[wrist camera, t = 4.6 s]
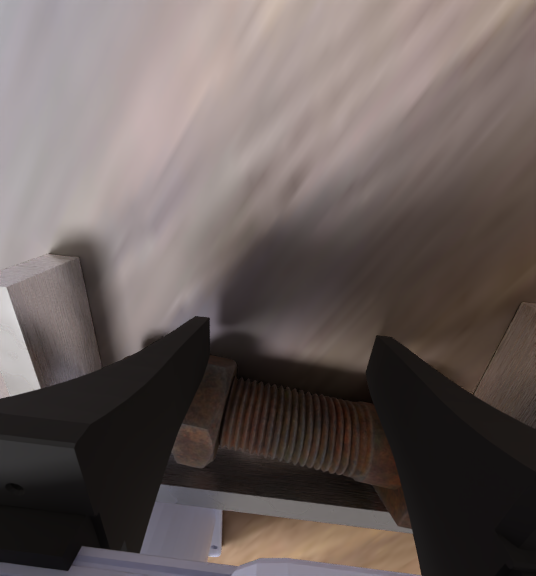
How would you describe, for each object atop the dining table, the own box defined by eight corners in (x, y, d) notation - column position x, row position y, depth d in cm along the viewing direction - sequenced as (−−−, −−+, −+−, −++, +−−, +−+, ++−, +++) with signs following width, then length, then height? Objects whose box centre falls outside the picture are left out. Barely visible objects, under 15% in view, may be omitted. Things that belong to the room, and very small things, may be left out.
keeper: (459, 471, 16) (501, 544, 13) (92, 428, 17) (47, 487, 14) (556, 305, 12) (656, 355, 9) (47, 254, 12) (-37, 282, 9)
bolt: (154, 330, 16) (400, 384, 16) (132, 415, 16) (386, 473, 15) (93, 337, 10) (477, 423, 10) (54, 474, 10) (458, 567, 10)
